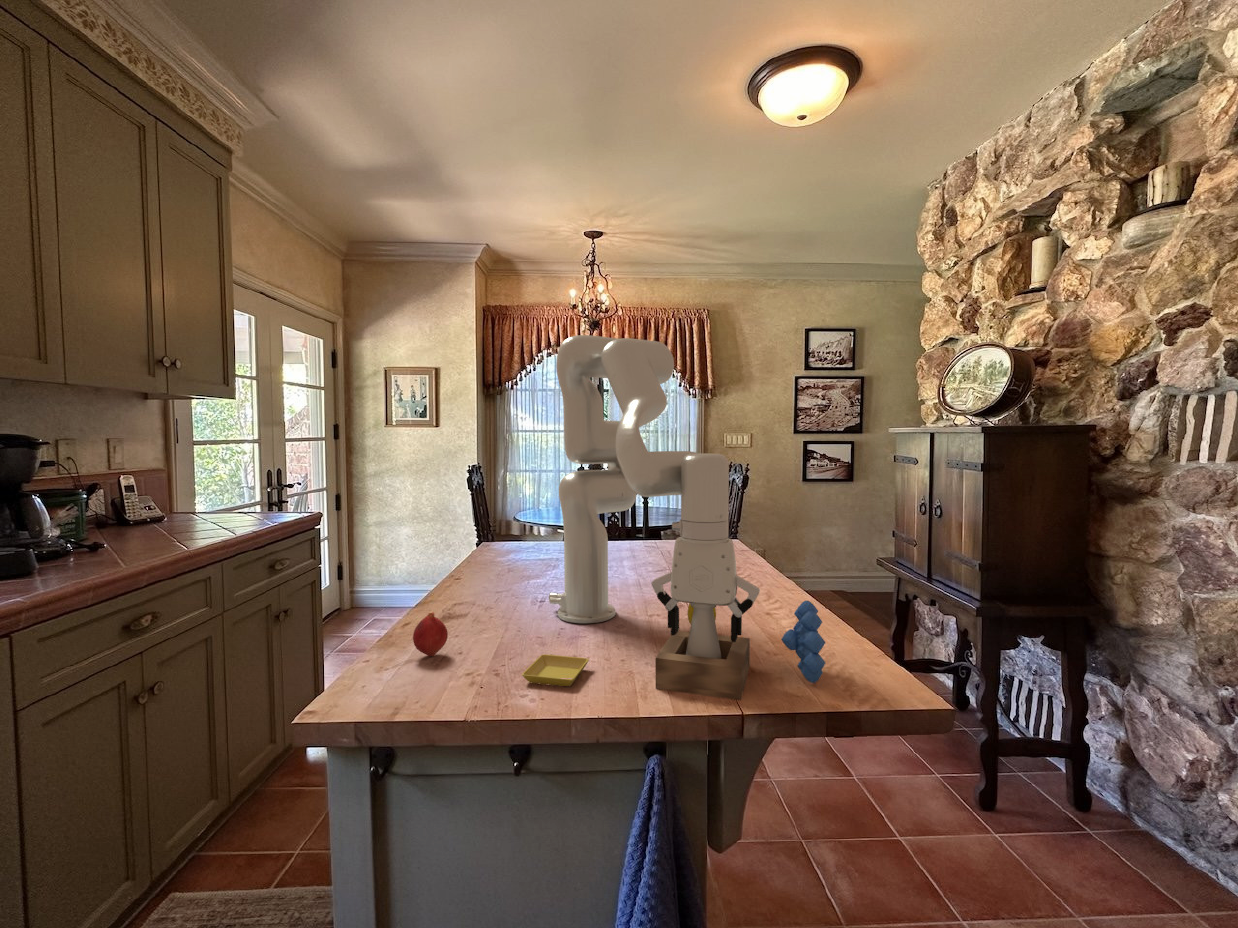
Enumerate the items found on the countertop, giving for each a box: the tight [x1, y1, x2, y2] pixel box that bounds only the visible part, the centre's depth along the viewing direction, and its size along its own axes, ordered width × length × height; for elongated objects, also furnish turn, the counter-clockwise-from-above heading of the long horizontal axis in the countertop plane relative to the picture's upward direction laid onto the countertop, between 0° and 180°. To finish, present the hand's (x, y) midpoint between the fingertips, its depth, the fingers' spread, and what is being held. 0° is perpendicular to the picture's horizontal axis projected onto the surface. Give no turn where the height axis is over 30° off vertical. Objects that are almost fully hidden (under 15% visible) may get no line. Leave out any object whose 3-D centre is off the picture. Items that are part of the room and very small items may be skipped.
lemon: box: [687, 603, 717, 625], centre depth 111 cm, size 6×6×8 cm
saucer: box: [521, 654, 590, 687], centre depth 92 cm, size 9×9×2 cm
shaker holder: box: [654, 630, 751, 701], centre depth 91 cm, size 13×13×5 cm
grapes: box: [780, 600, 826, 684], centre depth 91 cm, size 12×7×12 cm, turn 173°
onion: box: [412, 611, 449, 657], centre depth 101 cm, size 6×6×8 cm
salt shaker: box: [686, 603, 721, 659], centre depth 91 cm, size 6×6×13 cm
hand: (704, 635), depth 91 cm, fingers open, 9 cm apart
